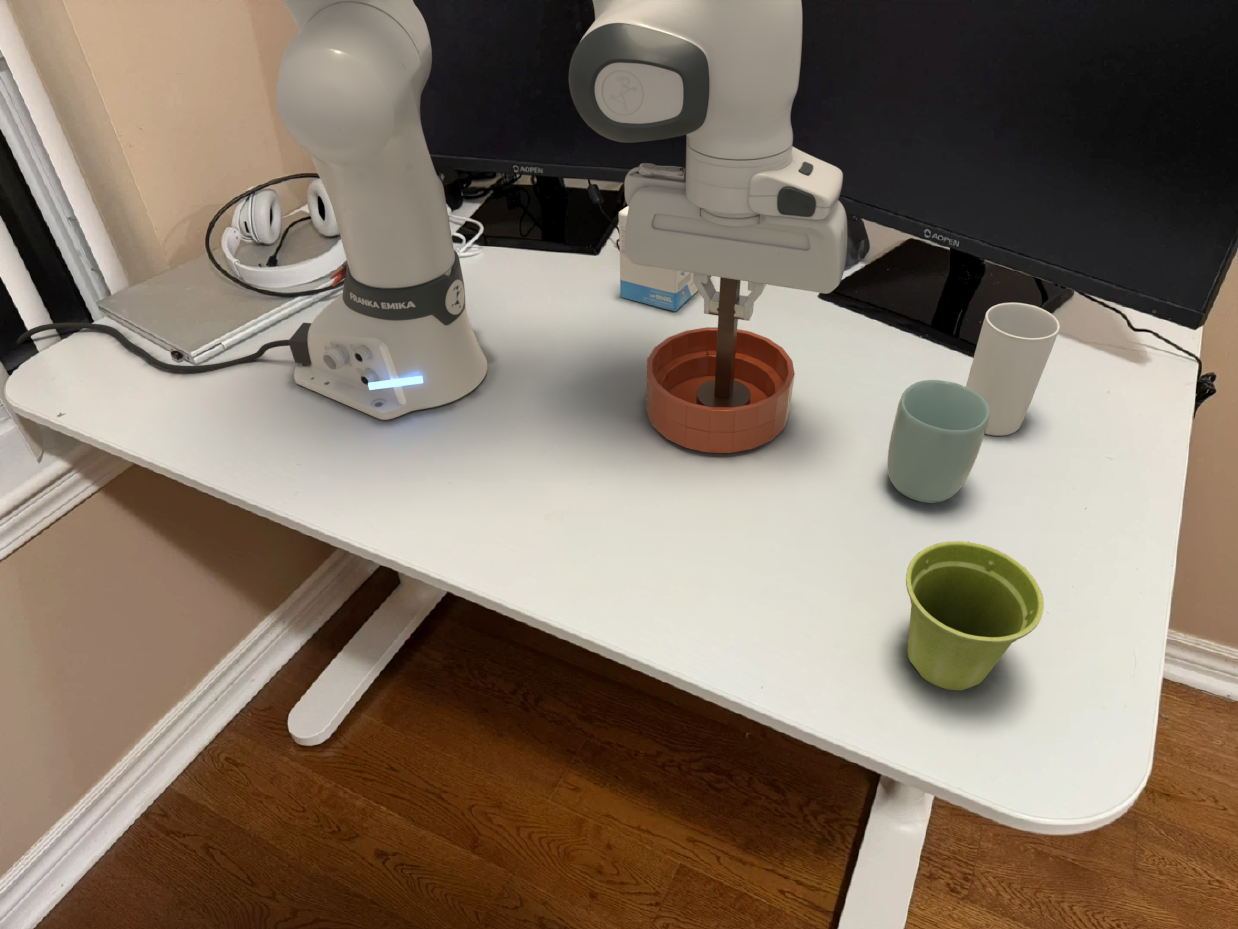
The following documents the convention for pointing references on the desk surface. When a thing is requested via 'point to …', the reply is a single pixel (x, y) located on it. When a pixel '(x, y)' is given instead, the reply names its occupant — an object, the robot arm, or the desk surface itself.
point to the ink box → (652, 279)
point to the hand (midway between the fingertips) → (728, 314)
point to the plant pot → (967, 611)
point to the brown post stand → (725, 355)
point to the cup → (936, 439)
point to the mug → (1011, 361)
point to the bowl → (693, 363)
